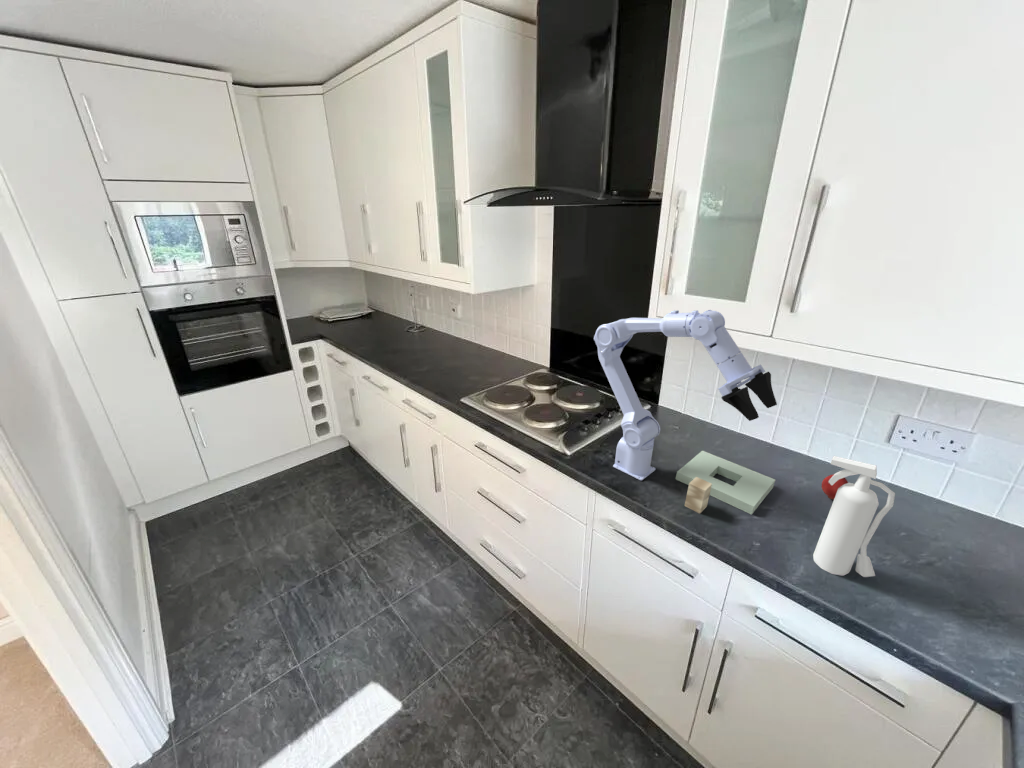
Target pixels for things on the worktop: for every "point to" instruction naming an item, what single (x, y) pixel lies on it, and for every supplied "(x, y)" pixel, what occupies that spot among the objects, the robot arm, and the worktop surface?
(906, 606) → the worktop surface
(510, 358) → the worktop surface
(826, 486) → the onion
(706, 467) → the well board
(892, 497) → the fire extinguisher
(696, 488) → the beech block
